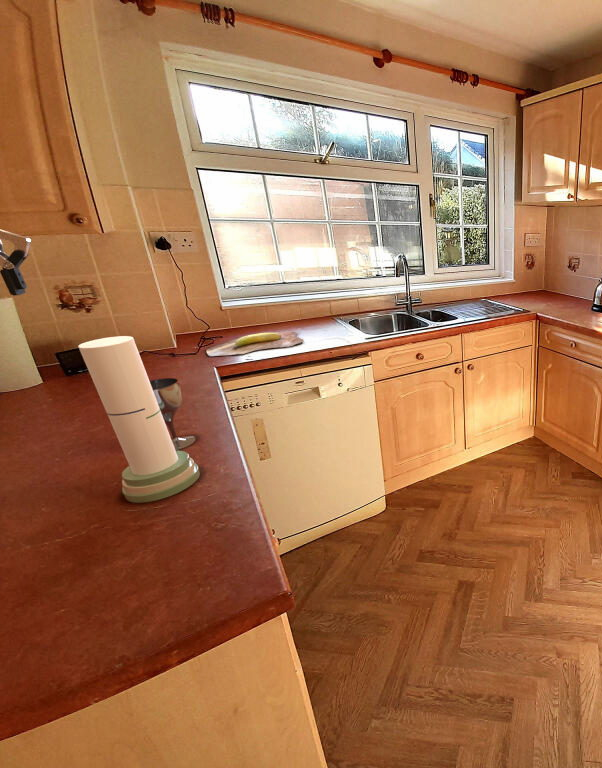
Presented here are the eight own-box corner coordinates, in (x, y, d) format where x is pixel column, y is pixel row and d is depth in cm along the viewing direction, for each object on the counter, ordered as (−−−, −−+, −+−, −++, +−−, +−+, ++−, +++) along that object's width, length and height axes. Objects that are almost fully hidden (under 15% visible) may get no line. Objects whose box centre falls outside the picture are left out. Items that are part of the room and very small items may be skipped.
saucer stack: (108, 499, 80) (98, 479, 78) (166, 464, 91) (159, 446, 89) (160, 505, 78) (152, 485, 76) (214, 469, 89) (208, 451, 87)
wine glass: (185, 432, 104) (165, 376, 98) (205, 439, 101) (185, 381, 95) (148, 447, 98) (125, 388, 92) (168, 455, 94) (144, 394, 89)
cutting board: (295, 330, 195) (294, 322, 193) (309, 343, 174) (307, 334, 173) (205, 344, 176) (202, 336, 174) (208, 361, 155) (205, 351, 154)
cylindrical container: (126, 467, 82) (73, 343, 72) (170, 451, 87) (125, 334, 78) (139, 479, 78) (84, 350, 68) (184, 461, 83) (139, 339, 74)
